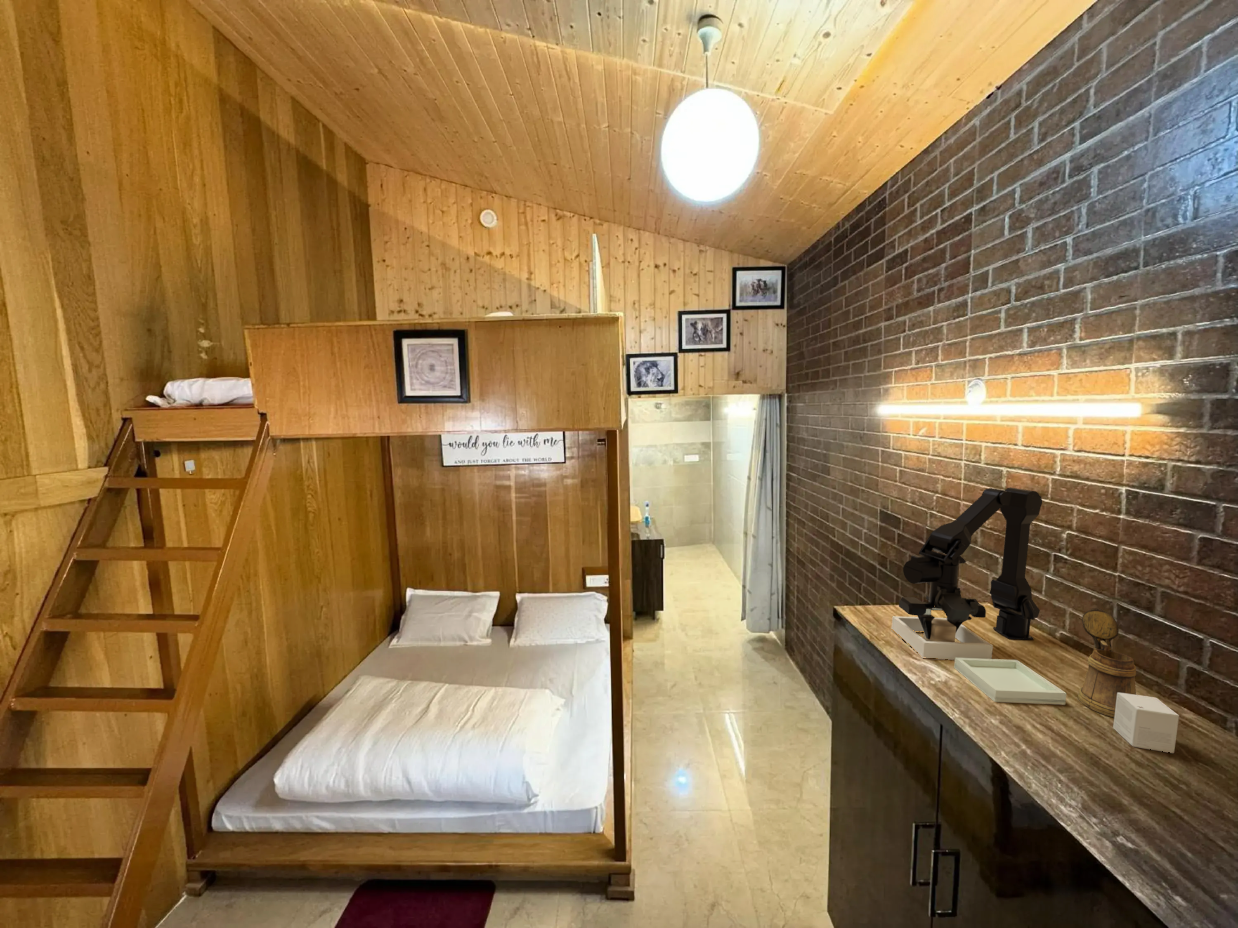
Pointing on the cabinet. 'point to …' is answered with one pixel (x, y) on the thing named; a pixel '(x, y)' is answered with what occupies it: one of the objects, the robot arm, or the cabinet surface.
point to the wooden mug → (1105, 665)
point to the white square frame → (965, 648)
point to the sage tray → (1009, 681)
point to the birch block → (941, 631)
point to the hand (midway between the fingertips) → (938, 639)
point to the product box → (1146, 722)
